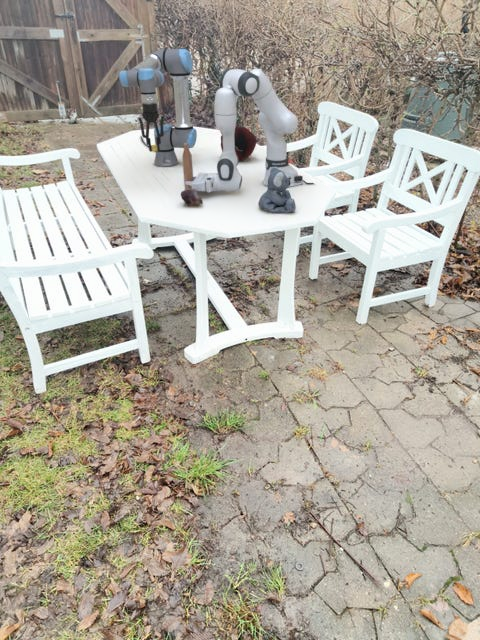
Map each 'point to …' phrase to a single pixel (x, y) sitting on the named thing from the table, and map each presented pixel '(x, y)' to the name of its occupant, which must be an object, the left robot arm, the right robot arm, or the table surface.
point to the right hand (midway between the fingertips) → (187, 180)
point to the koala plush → (277, 193)
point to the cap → (154, 147)
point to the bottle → (187, 166)
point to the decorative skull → (243, 142)
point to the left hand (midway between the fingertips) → (154, 150)
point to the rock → (191, 197)
